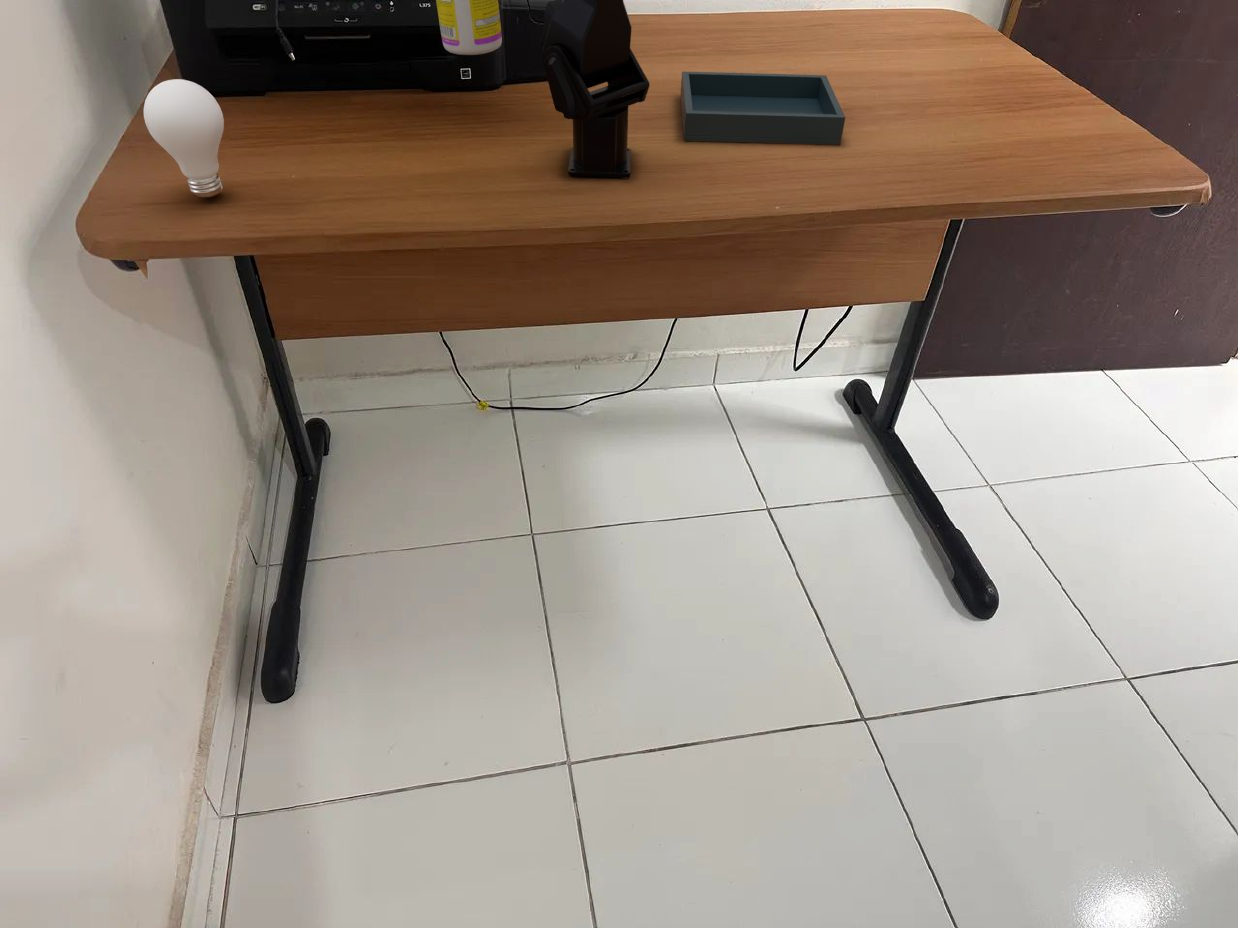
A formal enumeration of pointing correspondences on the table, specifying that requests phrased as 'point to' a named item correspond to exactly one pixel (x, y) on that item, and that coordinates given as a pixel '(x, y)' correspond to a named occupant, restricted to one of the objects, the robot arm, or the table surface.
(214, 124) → the light bulb
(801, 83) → the tray
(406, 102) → the table surface
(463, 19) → the supplement bottle
